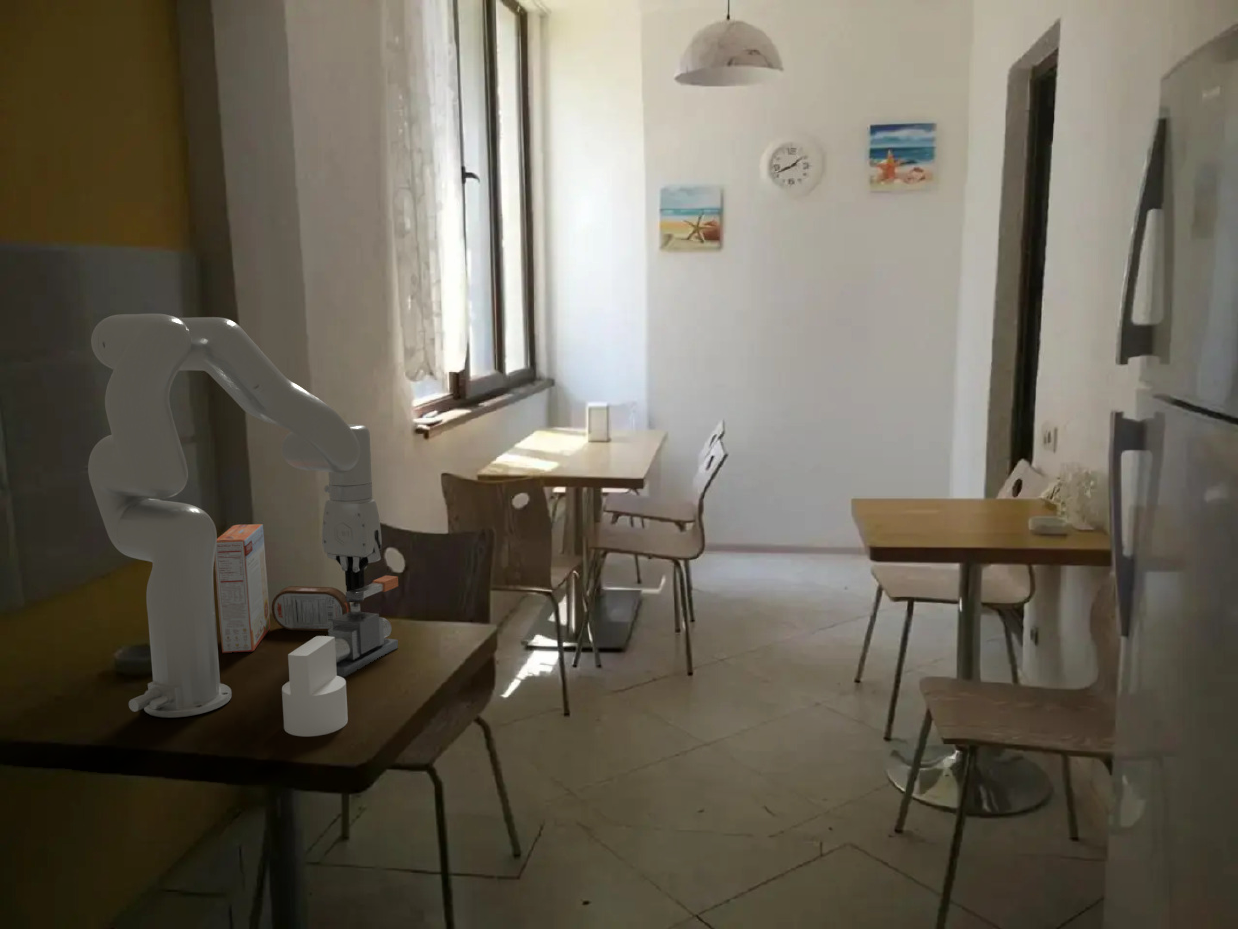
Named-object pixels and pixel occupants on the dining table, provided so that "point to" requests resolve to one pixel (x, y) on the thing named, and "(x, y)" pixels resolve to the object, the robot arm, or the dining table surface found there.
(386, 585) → the lever
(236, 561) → the cracker box
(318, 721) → the base with upright slab
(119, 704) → the dining table surface
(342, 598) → the tin
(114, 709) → the dining table surface
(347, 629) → the valve body
